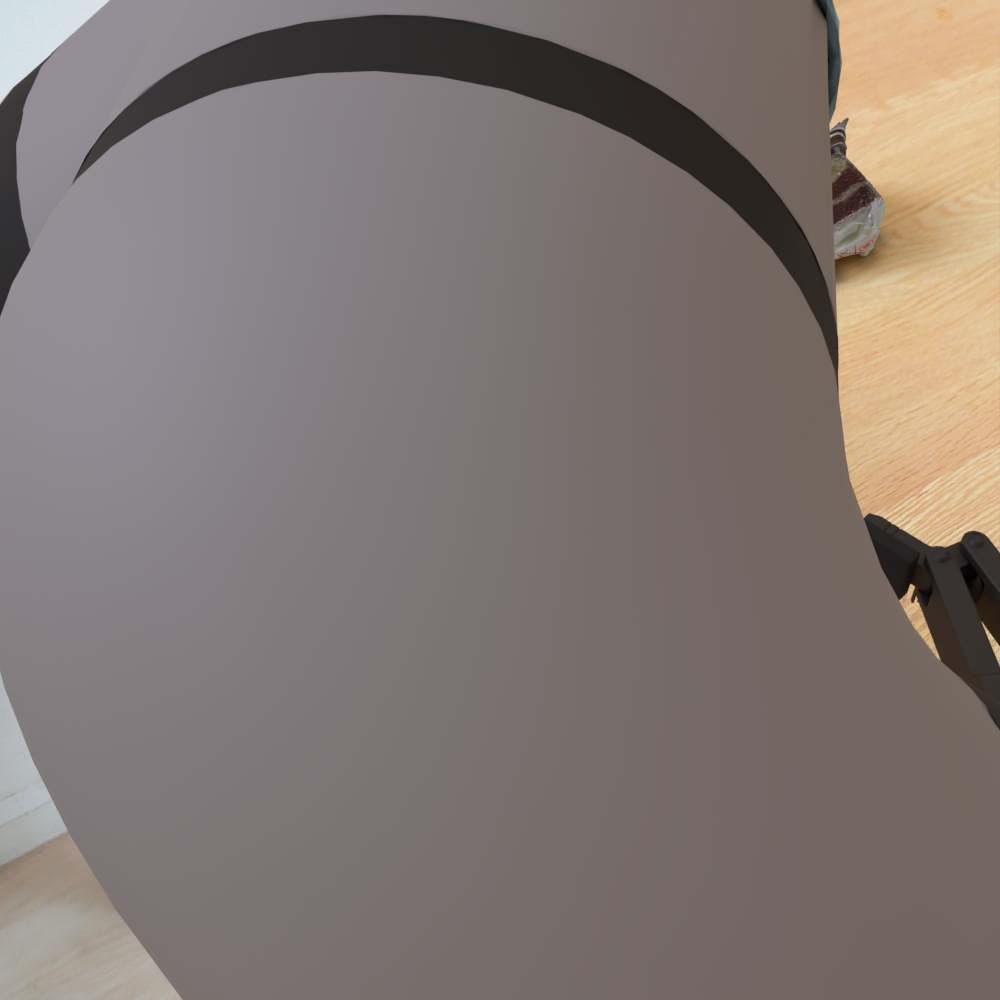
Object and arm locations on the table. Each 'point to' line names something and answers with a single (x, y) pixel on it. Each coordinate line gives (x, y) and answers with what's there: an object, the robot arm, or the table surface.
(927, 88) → the table surface
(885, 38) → the table surface
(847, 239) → the chocolate cake
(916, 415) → the table surface
